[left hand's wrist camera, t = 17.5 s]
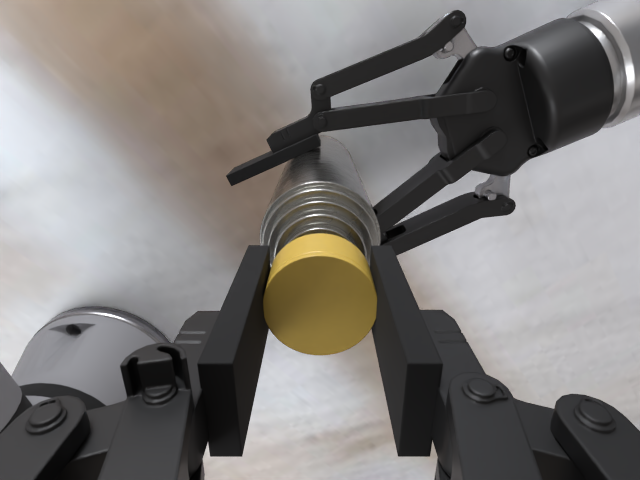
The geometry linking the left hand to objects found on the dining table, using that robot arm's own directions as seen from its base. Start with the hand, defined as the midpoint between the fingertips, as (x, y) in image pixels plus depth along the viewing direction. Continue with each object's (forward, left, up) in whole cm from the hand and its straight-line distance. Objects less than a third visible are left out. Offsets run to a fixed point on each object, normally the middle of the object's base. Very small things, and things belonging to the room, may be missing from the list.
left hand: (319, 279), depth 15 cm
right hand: (-4, +2, -14) cm, 15 cm away
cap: (0, 0, +2) cm, 2 cm away
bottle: (0, 0, -20) cm, 20 cm away
